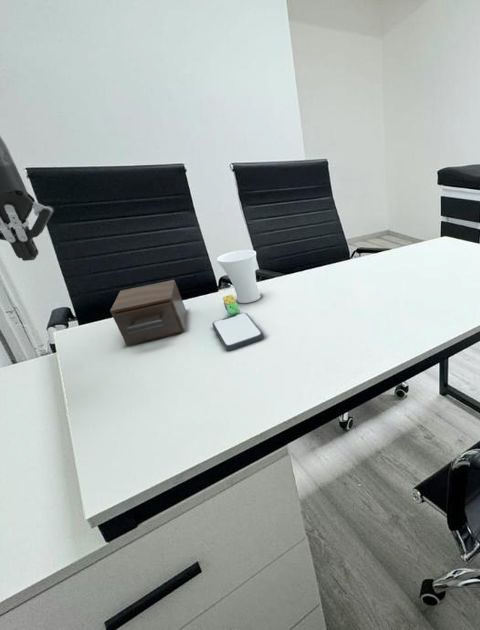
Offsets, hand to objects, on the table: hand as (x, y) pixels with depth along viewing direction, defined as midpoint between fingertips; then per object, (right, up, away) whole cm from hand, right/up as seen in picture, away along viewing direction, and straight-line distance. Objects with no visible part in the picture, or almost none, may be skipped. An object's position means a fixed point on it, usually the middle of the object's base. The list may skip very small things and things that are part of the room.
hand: (30, 259), depth 73 cm
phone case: (+29, -15, +23) cm, 40 cm away
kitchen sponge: (+24, -11, +32) cm, 41 cm away
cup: (+23, -6, +42) cm, 48 cm away
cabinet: (+5, -14, +29) cm, 32 cm away
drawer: (+7, -14, +25) cm, 30 cm away
